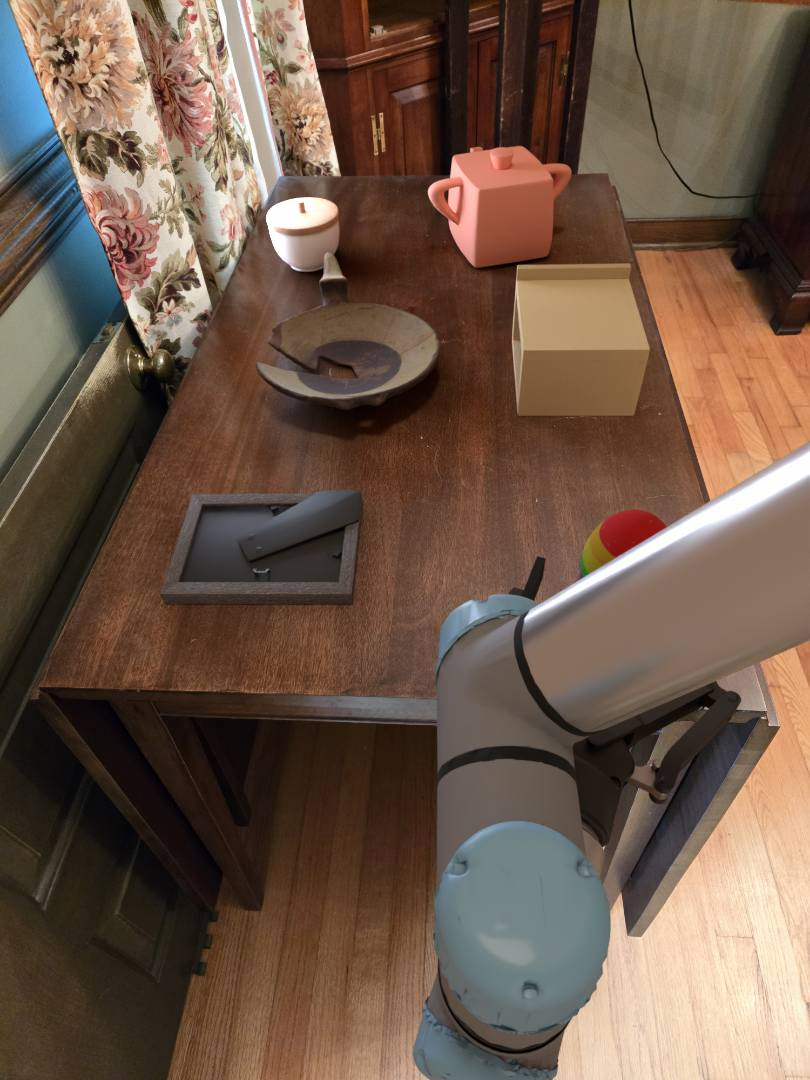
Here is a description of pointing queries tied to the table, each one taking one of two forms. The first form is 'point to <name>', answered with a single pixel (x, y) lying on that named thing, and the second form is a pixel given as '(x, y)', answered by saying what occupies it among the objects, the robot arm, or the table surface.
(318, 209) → the white lidded sugar bowl
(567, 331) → the tan cardboard box
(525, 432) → the table surface
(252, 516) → the picture frame
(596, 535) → the decorative egg
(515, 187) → the pink ceramic boxy vessel
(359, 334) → the grey frying pan
